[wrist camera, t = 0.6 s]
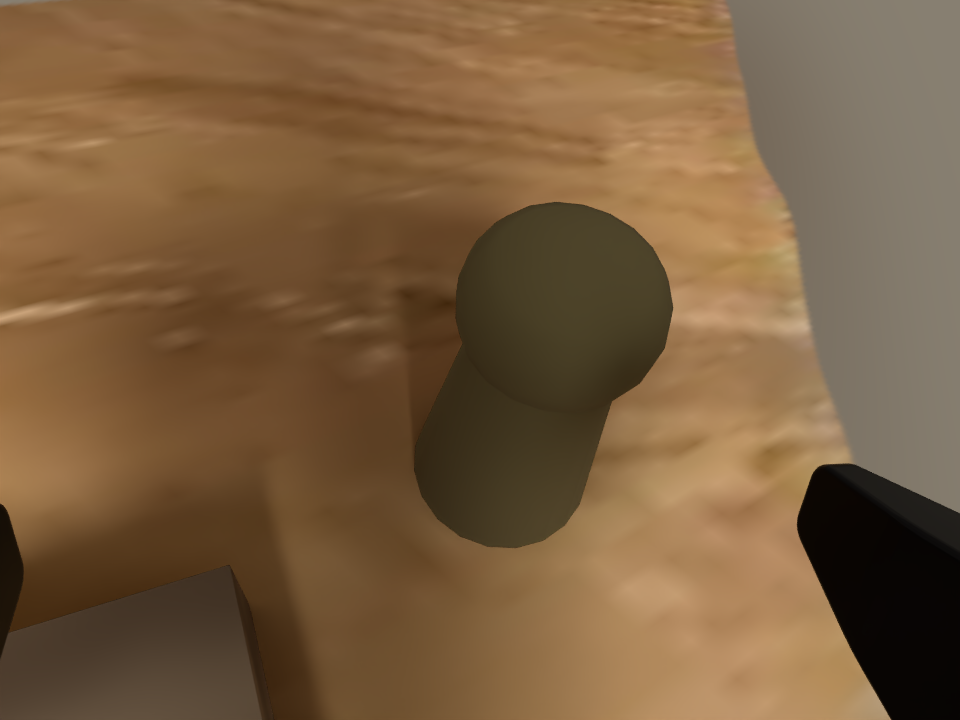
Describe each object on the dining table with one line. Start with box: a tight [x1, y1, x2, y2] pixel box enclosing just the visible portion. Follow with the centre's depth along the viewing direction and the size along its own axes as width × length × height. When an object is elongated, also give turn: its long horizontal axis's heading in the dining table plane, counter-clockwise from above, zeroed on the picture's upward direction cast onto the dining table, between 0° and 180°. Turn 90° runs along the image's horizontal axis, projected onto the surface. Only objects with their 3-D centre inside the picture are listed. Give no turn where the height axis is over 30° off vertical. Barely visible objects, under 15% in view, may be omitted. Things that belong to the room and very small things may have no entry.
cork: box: [414, 202, 673, 548], centre depth 21 cm, size 6×6×11 cm
